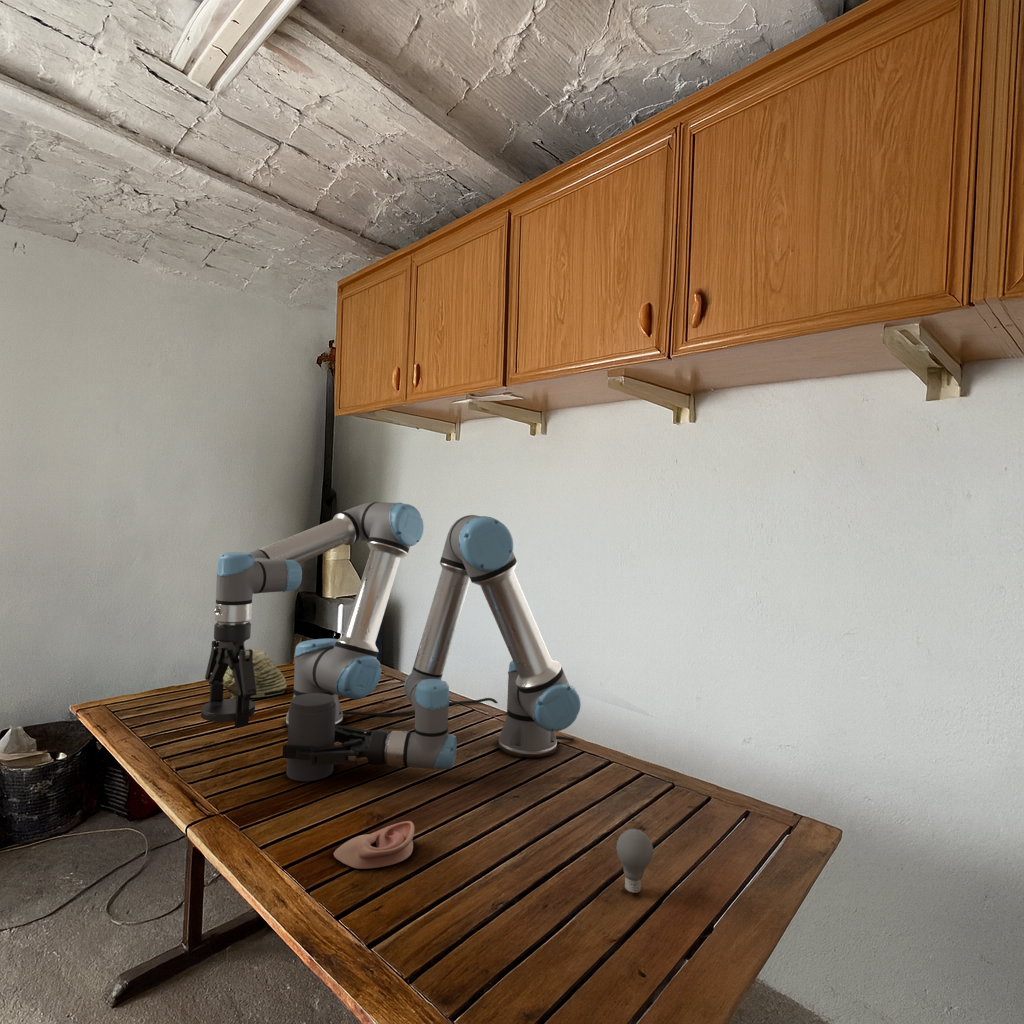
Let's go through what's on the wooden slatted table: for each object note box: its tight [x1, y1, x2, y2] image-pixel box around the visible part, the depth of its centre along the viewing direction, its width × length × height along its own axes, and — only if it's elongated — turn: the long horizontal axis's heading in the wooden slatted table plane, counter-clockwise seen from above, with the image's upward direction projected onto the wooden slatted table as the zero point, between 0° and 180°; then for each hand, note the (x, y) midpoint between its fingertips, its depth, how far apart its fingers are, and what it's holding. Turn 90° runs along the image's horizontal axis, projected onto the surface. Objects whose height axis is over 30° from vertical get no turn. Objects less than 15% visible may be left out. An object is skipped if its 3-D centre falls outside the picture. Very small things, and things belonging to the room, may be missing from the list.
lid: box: [200, 698, 256, 723], centre depth 142 cm, size 11×11×2 cm
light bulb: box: [615, 828, 654, 894], centre depth 106 cm, size 6×6×10 cm
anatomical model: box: [333, 820, 415, 870], centre depth 114 cm, size 13×4×12 cm
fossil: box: [222, 646, 288, 699], centre depth 198 cm, size 9×18×15 cm, turn 132°
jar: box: [285, 693, 336, 782], centre depth 146 cm, size 10×10×17 cm
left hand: (228, 719), depth 142 cm, fingers closed on lid, 11 cm apart
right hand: (293, 741), depth 146 cm, fingers closed on jar, 10 cm apart
